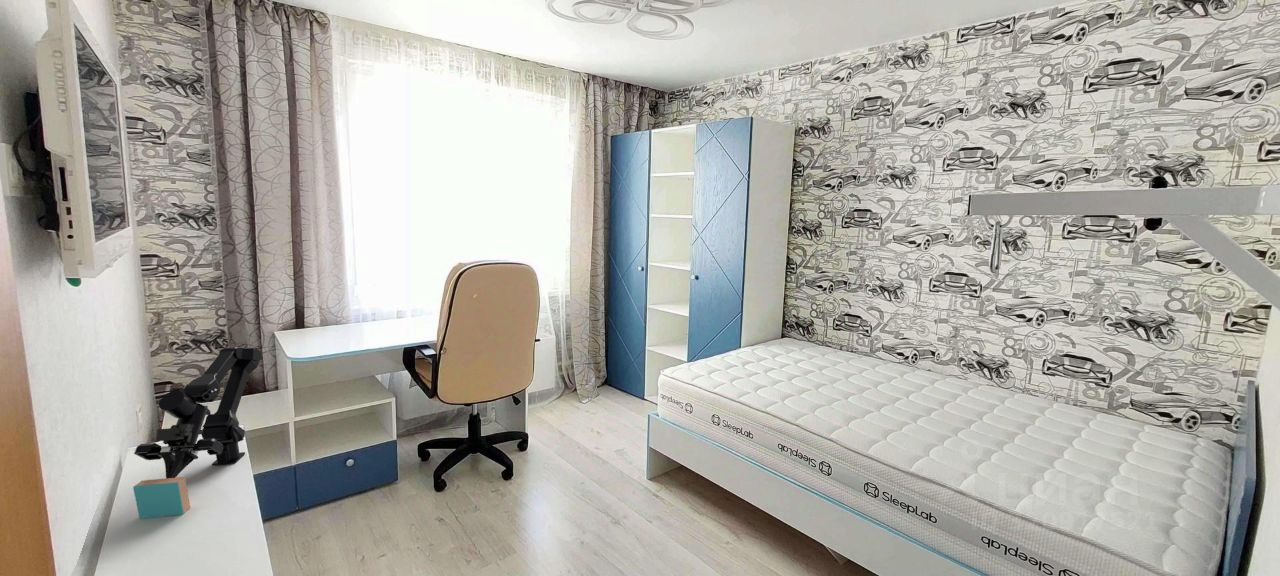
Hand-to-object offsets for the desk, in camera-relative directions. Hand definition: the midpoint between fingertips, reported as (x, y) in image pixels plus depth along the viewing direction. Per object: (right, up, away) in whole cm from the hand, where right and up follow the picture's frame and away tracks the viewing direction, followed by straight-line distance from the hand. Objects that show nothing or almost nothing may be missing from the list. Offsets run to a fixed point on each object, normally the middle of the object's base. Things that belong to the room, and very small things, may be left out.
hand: (169, 480), depth 142 cm
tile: (+1, -8, -2) cm, 8 cm away
